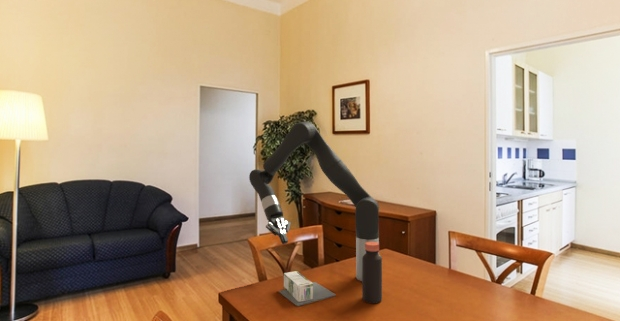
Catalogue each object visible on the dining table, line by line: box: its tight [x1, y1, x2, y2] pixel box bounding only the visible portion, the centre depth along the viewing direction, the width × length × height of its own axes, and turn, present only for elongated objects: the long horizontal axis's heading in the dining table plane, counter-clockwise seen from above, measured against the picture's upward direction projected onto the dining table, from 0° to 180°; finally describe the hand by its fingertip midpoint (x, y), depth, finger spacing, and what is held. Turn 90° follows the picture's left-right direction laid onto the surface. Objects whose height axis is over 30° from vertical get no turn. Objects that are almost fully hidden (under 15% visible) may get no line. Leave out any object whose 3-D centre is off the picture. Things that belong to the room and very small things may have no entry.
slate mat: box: [278, 281, 336, 307], centre depth 124 cm, size 16×14×1 cm
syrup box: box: [283, 270, 313, 302], centre depth 123 cm, size 6×6×14 cm
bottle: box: [361, 242, 383, 304], centre depth 118 cm, size 7×7×20 cm
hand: (285, 243), depth 141 cm, fingers closed
